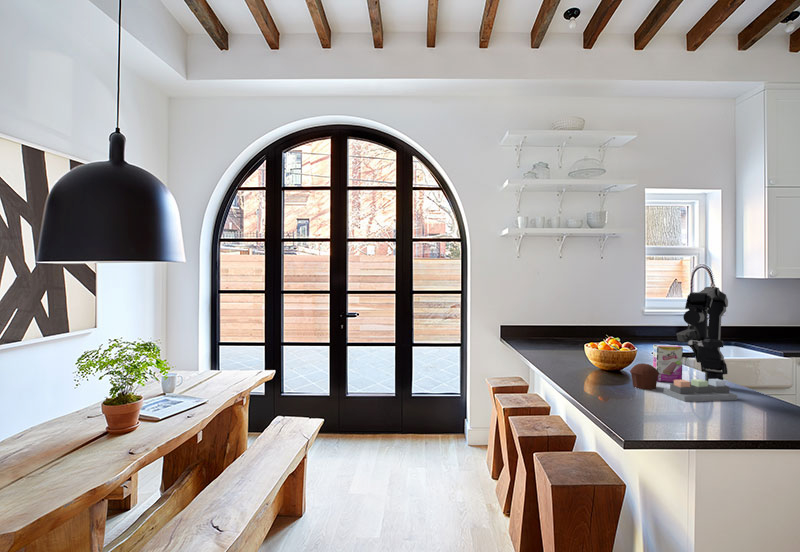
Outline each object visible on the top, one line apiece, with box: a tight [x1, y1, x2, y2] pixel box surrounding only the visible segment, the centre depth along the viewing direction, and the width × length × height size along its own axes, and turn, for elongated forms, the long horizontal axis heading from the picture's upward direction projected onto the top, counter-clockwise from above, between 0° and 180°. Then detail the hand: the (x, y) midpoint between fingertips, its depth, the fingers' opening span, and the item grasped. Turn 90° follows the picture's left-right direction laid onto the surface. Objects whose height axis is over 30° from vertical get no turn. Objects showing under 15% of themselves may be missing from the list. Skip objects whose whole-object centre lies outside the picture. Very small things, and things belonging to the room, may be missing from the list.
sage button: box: [690, 378, 708, 387], centre depth 185 cm, size 4×4×3 cm
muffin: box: [629, 362, 659, 391], centre depth 201 cm, size 12×11×10 cm
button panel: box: [663, 383, 738, 402], centre depth 185 cm, size 12×22×4 cm, turn 96°
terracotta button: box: [673, 379, 691, 387], centre depth 184 cm, size 4×4×3 cm
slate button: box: [708, 379, 726, 386], centre depth 186 cm, size 4×4×3 cm
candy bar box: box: [652, 344, 684, 383], centre depth 213 cm, size 11×5×16 cm, turn 84°
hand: (698, 362), depth 187 cm, fingers closed
